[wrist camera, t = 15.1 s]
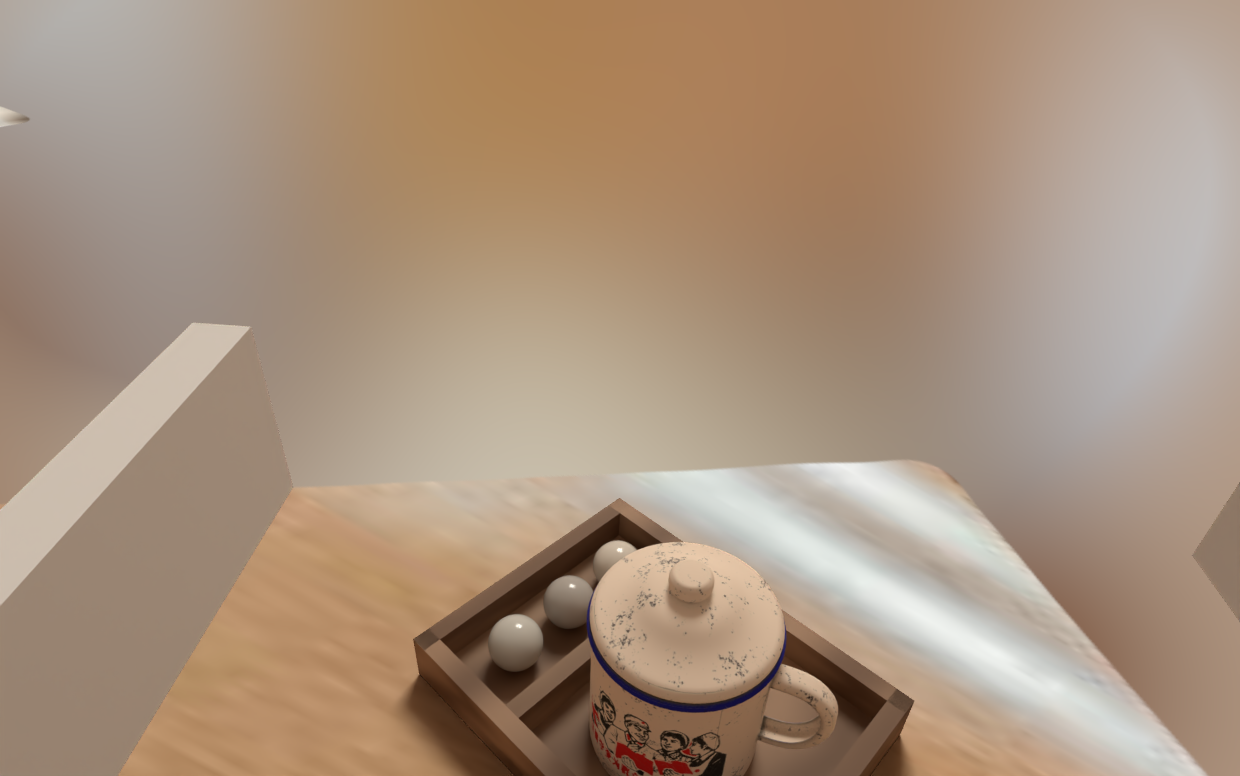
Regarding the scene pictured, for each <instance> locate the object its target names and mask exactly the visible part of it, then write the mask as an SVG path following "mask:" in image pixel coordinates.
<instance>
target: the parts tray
mask: <svg viewBox="0 0 1240 776" xmlns="http://www.w3.org/2000/svg"><path fill="white" fill-rule="evenodd" d="M616 540H619V541H625V542H627V543H629V544H631V545H632V546H634V547H635V548H636V550H639V549H642V548H645V547H648V546H651V545H656V544H661V543H670V542H683V541H681V540H680V539H678V538H677V537H675V536H674V535H672V534H671V533H670V532H668V531H667V530H665V529H664V528H662V527H661V526H659V525H658V524H657V523H655V522H654V521H652V520H651V519H649V518H648V517H646V516H645V515H643V514H642V513H641V512H639V511H638V510H636V509H635V508H633V507H632V506H630V505H629V504H627V503H626V502H625V501H623V500H622V499H620V498H619V499H617V500H616V501H615V502H613V503H612V504H610V505H609V506H607V507H606V508H604V509H603V510H601V511H600V512H598V513H597V514H596V515H594V516H593V517H591V518H590V519H588V520H587V521H585V522H584V523H582V524H581V525H579V526H578V527H577V528H575V529H574V530H572V531H571V532H569V533H568V534H566V535H565V536H563V537H562V538H560V539H559V540H558V541H556V542H555V543H553V544H552V545H550V546H549V547H547V548H546V549H544V550H543V551H541V552H540V553H539V554H537V555H536V556H534V557H533V558H531V559H530V560H528V561H527V562H525V563H524V564H522V565H521V566H520V567H518V568H517V569H515V570H514V571H512V572H511V573H509V574H508V575H506V576H505V577H504V578H502V579H501V580H499V581H498V582H496V583H495V584H493V585H492V586H490V587H489V588H487V589H486V590H485V591H483V592H482V593H480V594H479V595H477V596H476V597H474V598H473V599H471V600H470V601H468V602H467V603H466V604H464V605H463V606H461V607H460V608H458V609H457V610H455V611H454V612H452V613H451V614H449V615H448V616H447V617H445V618H444V619H442V620H441V621H439V622H438V623H436V624H435V625H433V626H432V627H430V628H429V629H428V630H426V631H425V632H423V633H422V634H420V635H419V636H417V637H416V638H414V639H413V640H414V646H415V652H416V658H417V664H418V669H419V674H420V675H421V676H422V677H423V678H424V679H425V680H426V681H427V682H428V683H429V685H430V686H431V687H432V688H433V689H434V690H435V691H436V692H437V693H438V694H439V695H440V696H441V697H442V698H443V700H444V701H445V702H446V703H447V704H448V705H449V706H450V707H451V708H452V709H453V710H454V711H455V712H456V713H457V714H458V716H459V717H460V718H461V719H462V720H463V721H464V722H465V723H466V724H467V725H468V726H469V727H470V728H471V729H472V730H473V732H474V733H475V734H476V735H477V736H478V737H479V738H480V739H481V740H482V741H483V742H484V743H485V744H486V745H487V746H488V748H489V749H490V750H491V751H492V752H493V753H494V754H495V755H496V756H497V757H498V758H499V759H500V760H501V761H502V763H503V764H504V765H505V766H506V767H507V768H508V769H509V770H510V771H511V772H512V773H513V774H514V775H515V776H610V775H609V774H608V772H607V771H606V770H605V768H604V767H603V766H602V764H601V762H600V761H599V759H598V757H597V755H596V752H595V750H594V747H593V744H592V740H591V736H590V728H589V710H590V672H591V645H590V642H589V638H588V633H587V622H586V623H585V624H584V625H582V626H580V627H578V628H575V629H563V628H560V627H558V626H556V625H554V624H553V623H552V622H551V621H550V620H549V619H548V617H547V616H546V614H545V611H544V606H543V599H544V595H545V592H546V590H547V588H548V587H549V585H550V584H551V583H552V582H553V581H554V580H556V579H557V578H560V577H562V576H567V575H572V576H577V577H580V578H582V579H584V580H585V581H586V582H587V583H588V584H589V585H590V586H591V588H592V590H593V592H594V590H595V588H596V587H597V585H598V583H599V582H598V581H597V579H596V577H595V575H594V571H593V560H594V557H595V554H596V553H597V551H598V550H599V549H600V547H602V546H603V545H604V544H606V543H608V542H611V541H616ZM781 610H782V609H781ZM512 614H521V615H525V616H528V617H530V618H531V619H533V620H534V621H535V622H536V623H537V624H538V626H539V627H540V629H541V632H542V635H543V649H542V652H541V655H540V657H539V658H538V660H537V661H536V662H535V663H534V664H533V665H532V666H531V667H529V668H528V669H526V670H523V671H519V672H510V671H506V670H504V669H502V668H500V667H499V666H497V665H496V664H495V662H494V661H493V660H492V658H491V656H490V654H489V650H488V639H489V635H490V632H491V630H492V628H493V627H494V625H495V624H496V623H497V622H498V621H499V620H501V619H502V618H504V617H506V616H508V615H512ZM782 614H783V617H784V621H785V626H786V638H787V639H786V649H785V653H784V657H783V660H782V663H781V664H784V665H787V666H790V667H793V668H796V669H799V670H801V671H804V672H806V673H808V674H810V675H812V676H814V677H815V678H817V679H818V680H820V681H821V682H822V683H823V684H825V685H826V686H827V687H828V688H829V690H830V691H831V692H832V693H833V695H834V696H835V698H836V701H837V705H838V716H837V721H836V725H835V728H834V730H833V732H832V733H831V735H830V736H829V737H828V738H827V739H826V740H824V741H823V742H822V743H820V744H818V745H815V746H813V747H809V748H805V749H787V748H782V747H778V746H774V745H771V744H767V743H764V742H762V741H759V740H757V745H756V749H755V753H754V756H753V759H752V761H751V763H750V765H749V768H748V769H747V771H746V772H745V774H744V776H870V775H871V774H872V773H873V771H874V770H875V768H876V767H877V766H878V764H879V763H880V761H881V760H882V759H883V757H884V756H885V755H886V753H887V752H888V750H889V749H890V748H891V746H892V745H893V743H894V742H895V741H896V739H897V738H898V737H899V735H900V733H901V731H902V729H903V726H904V724H905V722H906V719H907V717H908V715H909V712H910V710H911V708H912V705H913V703H914V700H912V699H911V698H909V697H908V696H907V695H905V694H904V693H902V692H901V691H899V690H898V689H896V688H895V687H893V686H892V685H891V684H889V683H888V682H886V681H885V680H883V679H882V678H880V677H879V676H877V675H876V674H875V673H873V672H872V671H870V670H869V669H867V668H866V667H864V666H863V665H861V664H860V663H859V662H857V661H856V660H854V659H853V658H851V657H850V656H848V655H847V654H845V653H844V652H843V651H841V650H840V649H838V648H837V647H835V646H834V645H832V644H831V643H829V642H828V641H827V640H825V639H824V638H822V637H821V636H819V635H818V634H816V633H815V632H814V631H812V630H811V629H809V628H808V627H806V626H805V625H803V624H802V623H800V622H799V621H798V620H796V619H795V618H793V617H792V616H790V615H789V614H787V613H786V612H784V611H783V610H782ZM764 715H765V716H768V717H771V718H774V719H777V720H781V721H785V722H791V723H801V722H806V721H809V720H812V719H814V718H815V717H817V716H818V715H819V714H818V713H817V712H816V710H815V709H814V708H813V707H812V706H810V705H809V704H808V703H806V702H805V701H803V700H801V699H799V698H797V697H795V696H792V695H790V694H787V693H784V692H781V691H778V690H775V689H772V688H770V691H769V695H768V699H767V703H766V708H765V712H764Z"/></svg>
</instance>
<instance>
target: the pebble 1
mask: <svg viewBox="0 0 1240 776" xmlns="http://www.w3.org/2000/svg"><path fill="white" fill-rule="evenodd" d="M542 649H543V635H542V632H541V629H540V627H539V626H538V624H537V623H536V622H535V621H534V620H533V619H531V618H530V617H528V616H525V615H521V614H512V615H508V616H506V617H504V618H502V619H501V620H499V621H498V622H497V623H496V624H495V625H494V627H493V628H492V630H491V632H490V635H489V639H488V650H489V654H490V656H491V658H492V660H493V661H494V662H495V664H496V665H497V666H499V667H500V668H502V669H504V670H506V671H510V672H519V671H523V670H526V669H528V668H529V667H531V666H532V665H533V664H534V663H535V662H536V661H537V660H538V658H539V657H540V655H541V652H542Z"/></svg>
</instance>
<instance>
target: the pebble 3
mask: <svg viewBox="0 0 1240 776" xmlns="http://www.w3.org/2000/svg"><path fill="white" fill-rule="evenodd" d="M634 551H637V550H636V548H635V547H634V546H632V545H631V544H629V543H627V542H625V541H619V540H616V541H611V542H608V543H606V544H604V545H603V546H602V547H600V549H599V550H598V551H597V553H596V554H595V557H594V560H593V571H594V575H595V577H596V579H597V581H598V582H599V581H600V580H601V578H602V577H603V576H604V575H605V573H606V572H607V571H608V570H609V569H610V568H611V567H612V566H613V565H614V564H616V563H617V562H618V561H619V560H621V559H622V558H624V557H625V556H627V555H629V554H630V553H632V552H634Z"/></svg>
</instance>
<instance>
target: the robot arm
mask: <svg viewBox="0 0 1240 776" xmlns="http://www.w3.org/2000/svg"><path fill="white" fill-rule="evenodd" d="M292 488H293V484H292V481H291V477H290V473H289V469H288V465H287V462H286V458H285V454H284V450H283V446H282V443H281V439H280V435H279V432H278V427H277V424H276V420H275V416H274V412H273V408H272V404H271V401H270V397H269V393H268V389H267V385H266V382H265V378H264V374H263V370H262V366H261V363H260V359H259V355H258V351H257V347H256V344H255V340H254V336H253V332H252V328H251V327H246V326H231V325H216V324H202V323H192V324H191V325H190V326H189V327H188V328H187V329H186V330H185V331H184V332H183V333H182V334H181V335H180V336H179V337H178V338H177V339H176V340H175V341H174V342H173V343H172V344H171V345H169V346H168V348H167V349H165V350H164V351H163V352H162V353H161V354H160V355H159V356H158V357H157V358H156V359H155V360H154V361H153V362H152V363H151V364H150V365H149V366H148V367H147V368H146V369H145V370H144V371H143V372H142V373H141V374H140V375H139V376H138V377H137V378H136V379H135V380H134V381H132V383H130V384H129V385H128V386H127V387H126V388H125V389H124V390H123V391H122V392H121V393H120V394H119V395H118V396H117V397H116V398H115V399H114V400H113V401H112V402H111V403H110V404H109V405H108V406H107V407H106V408H105V409H104V410H103V411H102V412H101V413H100V414H99V415H98V416H96V418H94V419H93V420H92V421H91V422H90V423H89V424H88V425H87V426H86V427H85V428H84V429H83V430H82V431H81V432H80V433H79V434H78V435H77V436H76V437H75V438H74V439H73V440H72V441H71V442H70V443H69V444H68V445H67V446H66V447H65V448H64V449H63V450H62V451H60V452H59V453H58V454H57V455H56V456H55V457H54V458H53V459H52V460H51V461H50V462H49V463H48V464H47V465H46V466H45V467H44V468H43V469H42V470H41V471H40V472H39V473H38V474H37V475H36V476H35V477H34V478H33V479H32V480H31V481H30V482H29V483H28V484H27V485H25V487H24V488H22V489H21V490H20V491H19V492H18V493H17V494H16V495H15V496H14V497H13V498H12V499H11V500H10V501H9V502H8V503H7V504H6V505H5V506H4V507H3V508H2V509H1V510H0V776H118V774H119V773H120V771H121V769H122V768H123V766H124V764H125V763H126V761H127V759H128V758H129V756H130V754H131V753H132V751H133V750H134V748H135V746H136V745H137V743H138V741H139V740H140V738H141V736H142V735H143V733H144V731H145V730H146V728H147V726H148V725H149V723H150V722H151V720H152V718H153V717H154V715H155V713H156V712H157V710H158V708H159V707H160V705H161V703H162V702H163V700H164V699H165V697H166V695H167V694H168V692H169V690H170V689H171V687H172V685H173V684H174V682H175V680H176V679H177V677H178V676H179V674H180V672H181V671H182V669H183V667H184V666H185V664H186V662H187V661H188V659H189V657H190V656H191V654H192V653H193V651H194V649H195V648H196V646H197V644H198V643H199V641H200V639H201V638H202V636H203V634H204V633H205V631H206V630H207V628H208V626H209V625H210V623H211V621H212V620H213V618H214V616H215V615H216V613H217V611H218V610H219V608H220V607H221V605H222V603H223V602H224V600H225V598H226V597H227V595H228V593H229V592H230V590H231V588H232V587H233V585H234V584H235V582H236V580H237V579H238V577H239V575H240V574H241V572H242V570H243V569H244V567H245V565H246V564H247V562H248V561H249V559H250V557H251V556H252V554H253V552H254V551H255V549H256V547H257V546H258V544H259V542H260V541H261V539H262V537H263V536H264V534H265V533H266V531H267V529H268V528H269V526H270V524H271V523H272V521H273V519H274V518H275V516H276V514H277V513H278V511H279V510H280V508H281V506H282V505H283V503H284V501H285V500H286V498H287V496H288V495H289V493H290V491H291V490H292ZM1192 556H1193V557H1194V559H1195V560H1196V561H1197V563H1198V564H1199V565H1200V567H1201V568H1202V570H1203V571H1204V572H1205V574H1206V575H1207V577H1208V578H1209V579H1210V581H1211V582H1212V583H1213V585H1214V586H1215V588H1216V589H1217V591H1218V592H1219V593H1220V595H1221V596H1222V598H1223V599H1224V600H1225V602H1226V603H1227V605H1228V606H1229V607H1230V609H1231V610H1232V611H1233V613H1234V614H1235V616H1236V617H1237V618H1238V620H1239V621H1240V483H1239V484H1238V486H1237V487H1236V489H1235V491H1234V492H1233V494H1232V495H1231V497H1230V498H1229V500H1228V501H1227V503H1226V505H1225V506H1224V507H1223V509H1222V511H1221V512H1220V514H1219V515H1218V517H1217V518H1216V520H1215V521H1214V523H1213V524H1212V526H1211V528H1210V529H1209V531H1208V532H1207V534H1206V535H1205V537H1204V538H1203V540H1202V541H1201V543H1200V544H1199V546H1198V547H1197V549H1196V551H1195V552H1194V554H1193V555H1192Z"/></svg>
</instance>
